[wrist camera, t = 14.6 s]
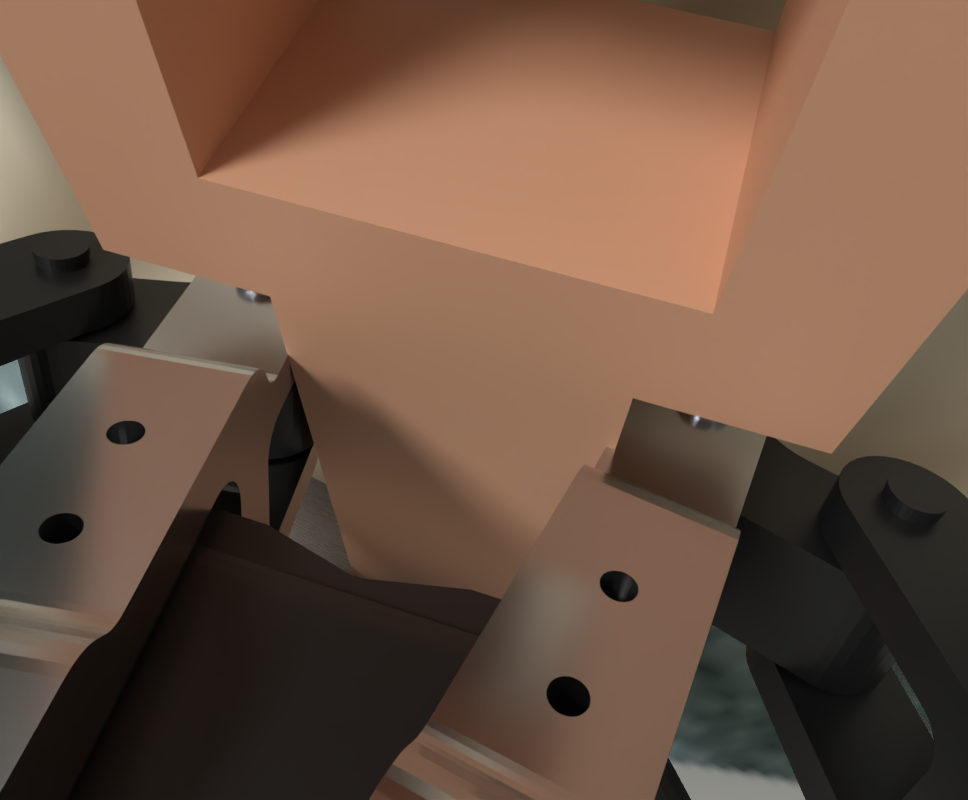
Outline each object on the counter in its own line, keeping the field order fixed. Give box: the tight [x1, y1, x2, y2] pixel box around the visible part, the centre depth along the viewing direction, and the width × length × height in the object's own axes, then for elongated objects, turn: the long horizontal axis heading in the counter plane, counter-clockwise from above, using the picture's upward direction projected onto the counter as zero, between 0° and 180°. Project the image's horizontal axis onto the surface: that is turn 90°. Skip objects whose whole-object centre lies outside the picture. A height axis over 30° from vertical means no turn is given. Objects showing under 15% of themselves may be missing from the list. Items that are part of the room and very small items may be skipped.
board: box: [0, 0, 968, 498], centre depth 12 cm, size 19×21×1 cm
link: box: [0, 0, 968, 599], centre depth 9 cm, size 15×6×3 cm, turn 172°
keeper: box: [289, 477, 353, 575], centre depth 14 cm, size 5×7×5 cm
